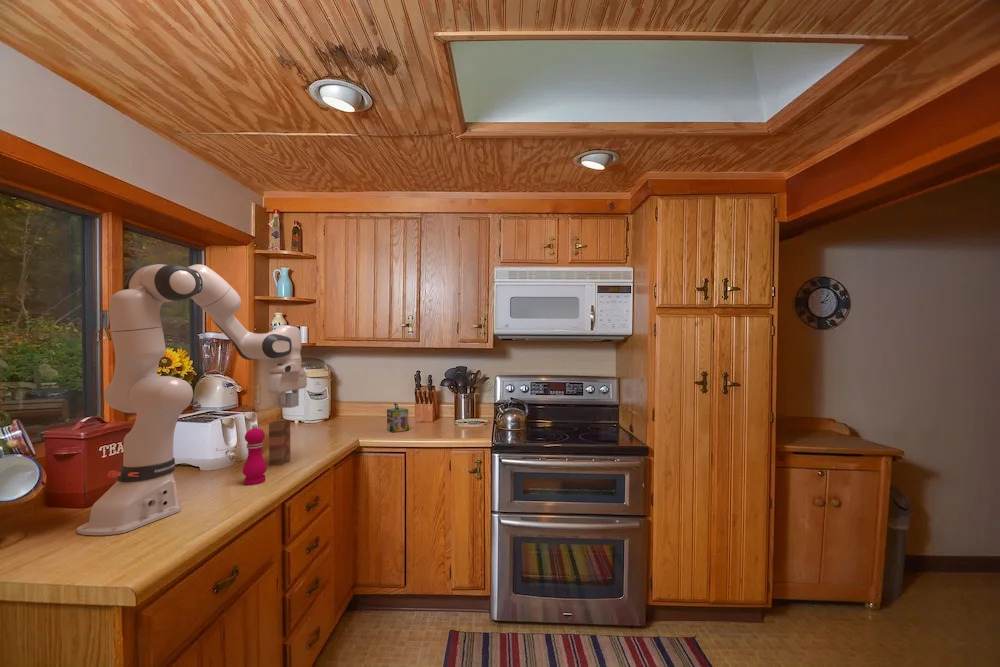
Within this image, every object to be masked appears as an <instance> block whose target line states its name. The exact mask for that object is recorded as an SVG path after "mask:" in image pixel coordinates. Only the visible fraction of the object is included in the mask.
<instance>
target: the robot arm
mask: <svg viewBox="0 0 1000 667" xmlns="http://www.w3.org/2000/svg"><path fill="white" fill-rule="evenodd" d="M189 299H191V300H193V301H194V303H196V305H197V306H199V307H200V308H201V309H202V310H203V311H204V312H205V313H206V314H207V315H208V316H209V317H210V319H211V320H212V322H213V323H214V324H215V326H216V327H217V328H219V330H220V331H221V332H222V333H223V334H224V335H225V336H226V337H227V338H228V339H229V341H231V343H232V344H233V346H234V348H235V350H236V352H237V354H238V355H239V356H240V357H241V359H244V360H247V361H254V360H275V362H274V363H273V364H271V365H269V366H268V367H267V373H268V375H267V391H268V393H270V394H277V395H278V399H279V398H280V401H281V404H286V403H287V399H286V397H285V395H286V393H288V392H290V391H291V393H300V390H303V389H306V388H307V386H308V381H307V380H308V377H307V372H306V370H305V368H304V366H303V365H302V356H301V355H302V354H301V351H302V334H301V331H300V328H299V327H297V326H295V325H291V324H279V325H278V326H277V327H276V328H275V329H273V330H271V331H268V332H267V333H265V332H263V333H256V332H255V333H254V332H252V331H249V330H248V329H246V327H244V326H243V324H242V323H241V322H240V321H239V319H238V318H237V317H236V316H235V315H236V314H237V313H238V312H239V311H240V308H241V306H242V298H241V297H240V295H239V293H238V292H237V290H236V289H234V288H233V286H231V285H230V284H229V283H228V282H227V281H226V280H225V278H223V277H222V276H221V275H219V274H218V273H216V271H214V270H213V269H211V268H210V267H208V266H207V265H204V264H199V263H198V264H192V265H190V266H188V267H187V266H184V265H180V264H174V263H173V264H170V263H169V264H161V263H157V264H151V265H144V266H141V267H138V268H136V269H134V270H133V271H132V272H130V274H129V276H128V277H127V280H126V284H125V286H124V288H123V289H122V290H119V291H117V292H114V293H113V294H112V295H111V297H110V299H109V309H108V314H109V315H108V316H109V317H108V318H109V319H108V320H109V328H110V332H111V334H110V335H111V337H112V343H113V351H114V357H115V358H114V359H115V363H114V372H113V376H112V380H111V381H110V383H109V384H108V385H107V386H106V388H105V390H104V395H103V396H104V401H105V403H106V404H107V405H108V407H110V408H112V409H114V410H117V411H119V412H123V413H126V414H136V419H135V422H134V424H133V427H132V428H131V430H130V431H129V432H127V433H126V435H125V436H124V438H123V450H122V451H123V456H122V457H123V458H122V459H123V464H122V465H121V467H120V469H119V470H110V471H108V473H107V476H106V477H107V478H108V479H116V482H115V483H114V484H113V485H112V486H111V487H110V488H109V489H107V491H106V492H105V493H103V495H102V496H101V497H99V499H97V500H96V501H95V502H93V505H92V506H91V509H90V513H89V518H88V520H89V521H87V522H85V523H84V524H82V525H80V526H77V528H76V533H77V534H78V535H79V534H80V535H84V536H111V535H119V534H124V533H127V532H131V531H133V530H136V529H139V528H140V527H143V526H145V525H146V526H147V525H148V524H151V523H153V522H156V521H158V520H161V519H164V518H166V517H169V516H171V515H174V514H177V513H179V512H181V510H182V509H181V502H180V501H179V498H178V491H177V484H176V479H175V475H174V471H176V461H175V460H176V459H175V457H174V436H175V430H176V425H177V423H178V420H179V418H180V416H181V414H182V413H183V412H184V410H186V409H187V408H188V407H189V406H190V405H191V403H192V401H193V397H194V390H193V387H192V385H191V384H190V383H189V382H188V381H187V380H184V379H181V378H178V377H175V376H171V375H159V374H158V373H159V372H158V370H159V368H158V367H159V365H160V360H162V358H164V356H165V354H166V351H167V347H166V344H165V343H166V342H165V336H164V330H163V324H162V319H161V316H160V313H161V307H162V305H163V304H164V303H171V302H182V301H185V300H189Z"/></svg>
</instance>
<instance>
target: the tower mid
mask: <svg viewBox="0 0 1000 667" xmlns="http://www.w3.org/2000/svg"><path fill="white" fill-rule="evenodd" d="M289 448H290V449H291V434H290V435H287V436H285V437H269V436H268V452H269V451H285V450H287V449H289Z"/></svg>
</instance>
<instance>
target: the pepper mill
mask: <svg viewBox="0 0 1000 667" xmlns="http://www.w3.org/2000/svg"><path fill="white" fill-rule="evenodd" d="M258 427H259V426H258V424H256V423H254V424H253V425H251V429H249V430H247V431H246V432H245V435H244V440H245V442H247V443H246V449H247V457H246V460H245V463H244V465H243V467H242V474H243V475H244V476H245V477H244V479H243V480H244V485H246V484H247V485H246V486H253V485H254V484H255V485H260V484H262V483H263V482H265V480H266V475H265V473H266V472H267V468H268V467H267V463H266V460H265V459H264V456H263V454H262V449H263V448H262V447H263V446H264V442H263V440H264V439H265V437H266V435H265V431H264V430H263V429H261V428H258ZM259 483H260V484H259ZM255 485H254V486H255Z"/></svg>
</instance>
